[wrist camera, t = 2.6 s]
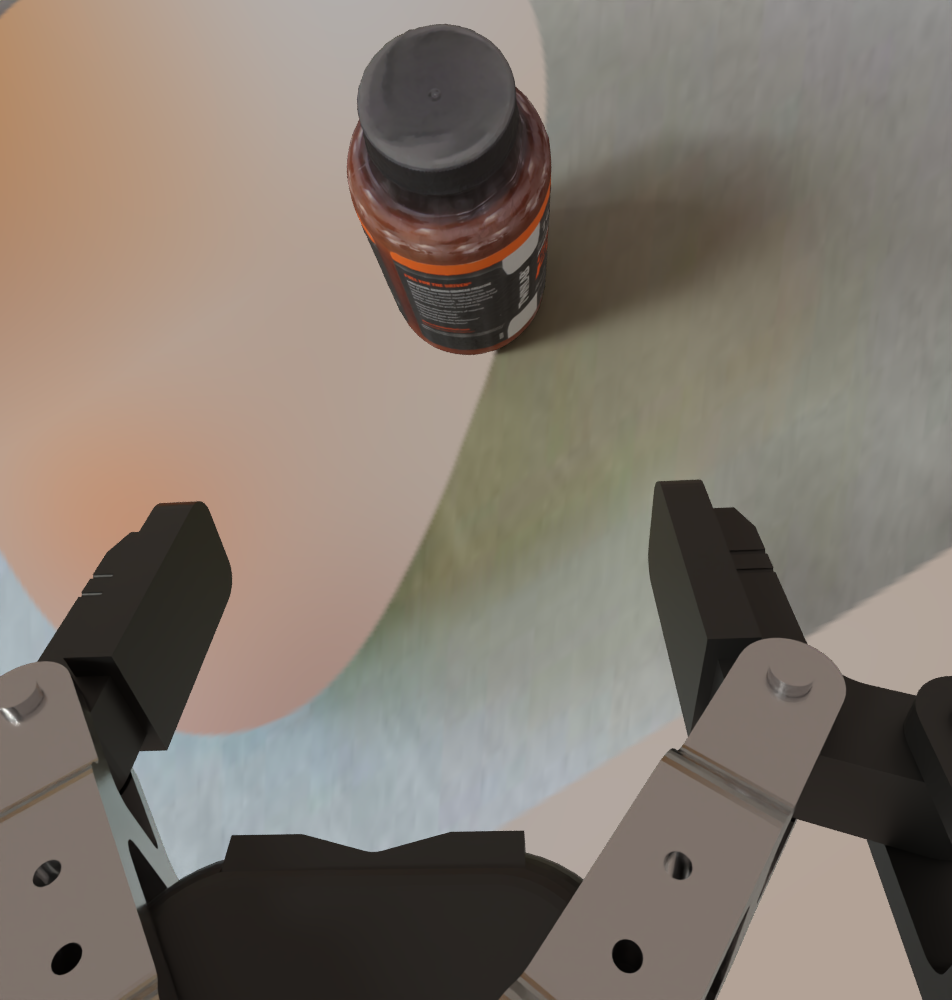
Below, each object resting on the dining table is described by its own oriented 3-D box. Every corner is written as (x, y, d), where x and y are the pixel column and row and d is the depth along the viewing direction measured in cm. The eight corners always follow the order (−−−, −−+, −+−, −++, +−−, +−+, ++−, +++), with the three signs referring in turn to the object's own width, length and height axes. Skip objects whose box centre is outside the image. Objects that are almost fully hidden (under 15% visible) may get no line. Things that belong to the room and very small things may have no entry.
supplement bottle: (568, 326, 28) (596, 154, 17) (428, 382, 28) (365, 248, 17) (512, 196, 29) (503, -51, 18) (376, 251, 29) (283, 41, 18)
